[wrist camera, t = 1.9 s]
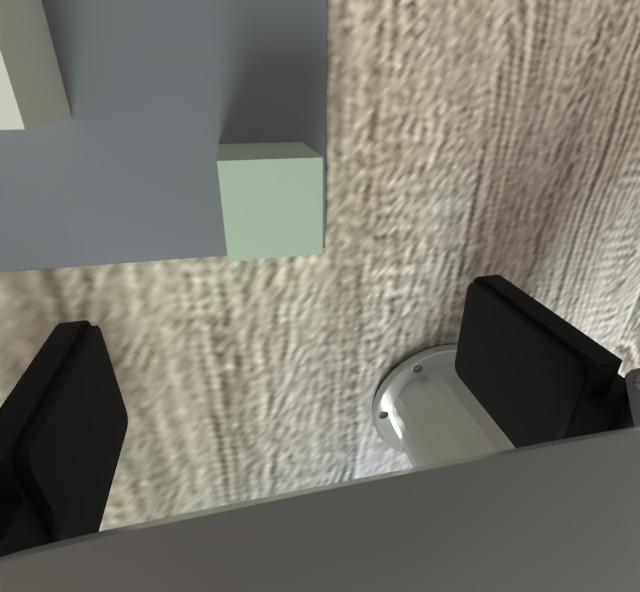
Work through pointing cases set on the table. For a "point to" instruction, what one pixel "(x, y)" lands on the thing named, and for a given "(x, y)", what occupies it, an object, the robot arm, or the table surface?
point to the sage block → (271, 199)
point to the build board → (144, 120)
